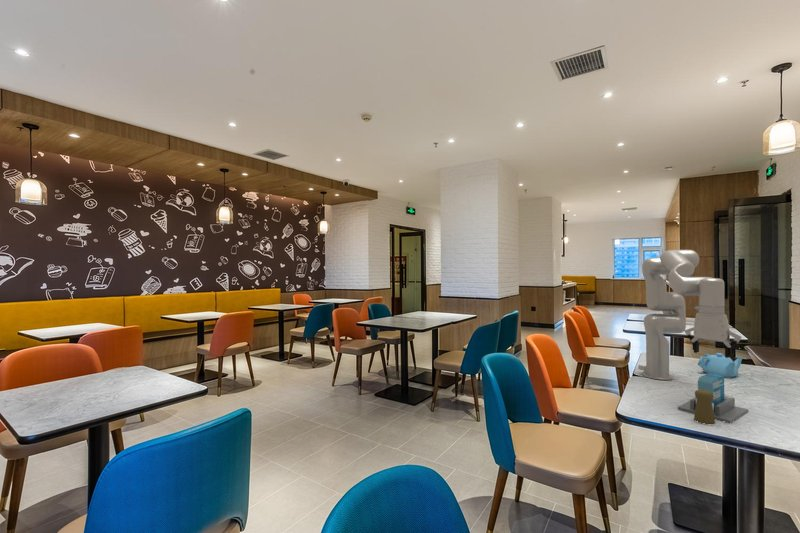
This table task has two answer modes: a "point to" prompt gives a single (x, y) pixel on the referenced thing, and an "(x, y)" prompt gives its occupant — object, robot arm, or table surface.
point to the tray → (719, 409)
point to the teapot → (719, 365)
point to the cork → (704, 407)
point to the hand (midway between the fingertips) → (711, 354)
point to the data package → (713, 387)
